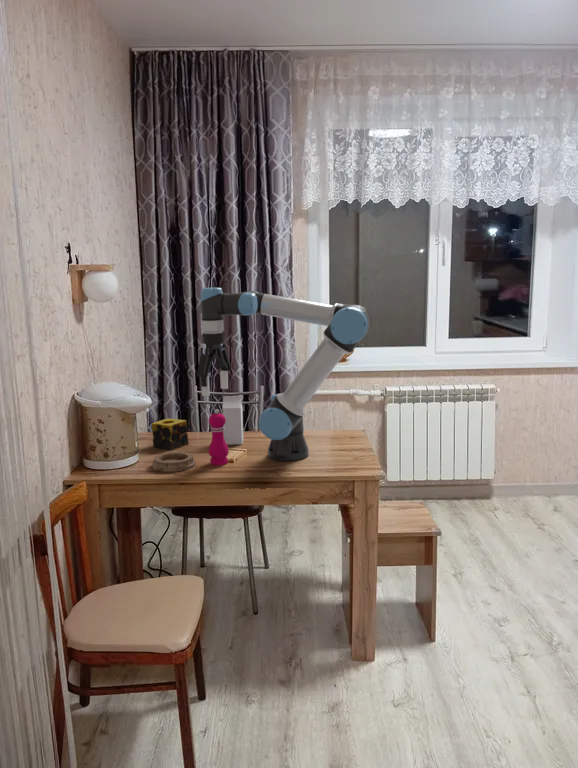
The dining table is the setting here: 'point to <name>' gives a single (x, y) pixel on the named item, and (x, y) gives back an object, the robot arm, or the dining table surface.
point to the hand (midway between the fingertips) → (215, 392)
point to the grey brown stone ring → (173, 462)
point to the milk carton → (233, 420)
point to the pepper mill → (218, 439)
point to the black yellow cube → (169, 434)
